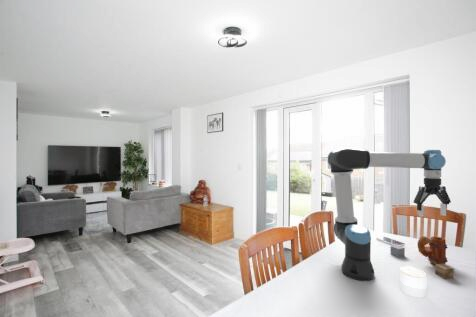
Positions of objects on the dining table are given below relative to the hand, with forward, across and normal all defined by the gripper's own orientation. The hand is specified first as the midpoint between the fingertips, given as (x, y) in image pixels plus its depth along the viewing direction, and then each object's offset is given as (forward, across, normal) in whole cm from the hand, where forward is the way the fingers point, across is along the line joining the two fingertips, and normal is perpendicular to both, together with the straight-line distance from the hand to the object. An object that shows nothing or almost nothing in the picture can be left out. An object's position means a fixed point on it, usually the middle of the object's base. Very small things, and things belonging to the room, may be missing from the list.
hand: (431, 215), depth 132 cm
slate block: (+26, -11, +12) cm, 31 cm away
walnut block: (+26, -6, -14) cm, 30 cm away
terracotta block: (+26, +8, +12) cm, 30 cm away
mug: (+27, 0, -1) cm, 27 cm away
